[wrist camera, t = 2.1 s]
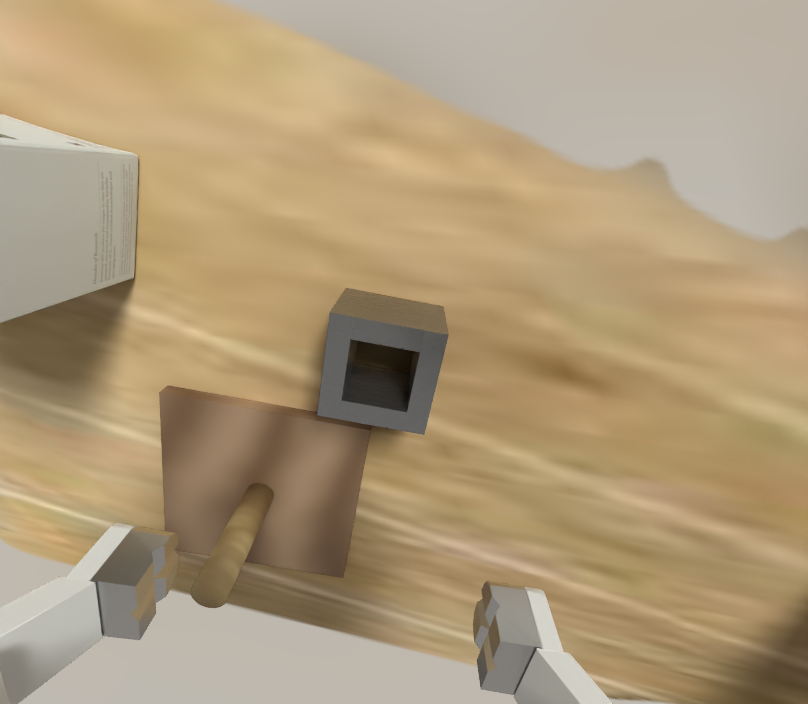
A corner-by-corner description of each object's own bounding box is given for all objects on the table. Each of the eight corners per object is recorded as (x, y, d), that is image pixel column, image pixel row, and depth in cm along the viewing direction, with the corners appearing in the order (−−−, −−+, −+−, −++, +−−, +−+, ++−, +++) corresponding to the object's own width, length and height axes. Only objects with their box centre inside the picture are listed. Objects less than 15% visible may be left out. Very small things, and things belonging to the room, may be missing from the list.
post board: (372, 422, 29) (352, 520, 21) (345, 567, 34) (321, 691, 26) (167, 385, 29) (63, 471, 20) (172, 538, 34) (92, 655, 26)
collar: (443, 306, 26) (448, 335, 21) (423, 392, 28) (424, 434, 23) (346, 288, 26) (329, 312, 21) (334, 375, 28) (316, 415, 23)
